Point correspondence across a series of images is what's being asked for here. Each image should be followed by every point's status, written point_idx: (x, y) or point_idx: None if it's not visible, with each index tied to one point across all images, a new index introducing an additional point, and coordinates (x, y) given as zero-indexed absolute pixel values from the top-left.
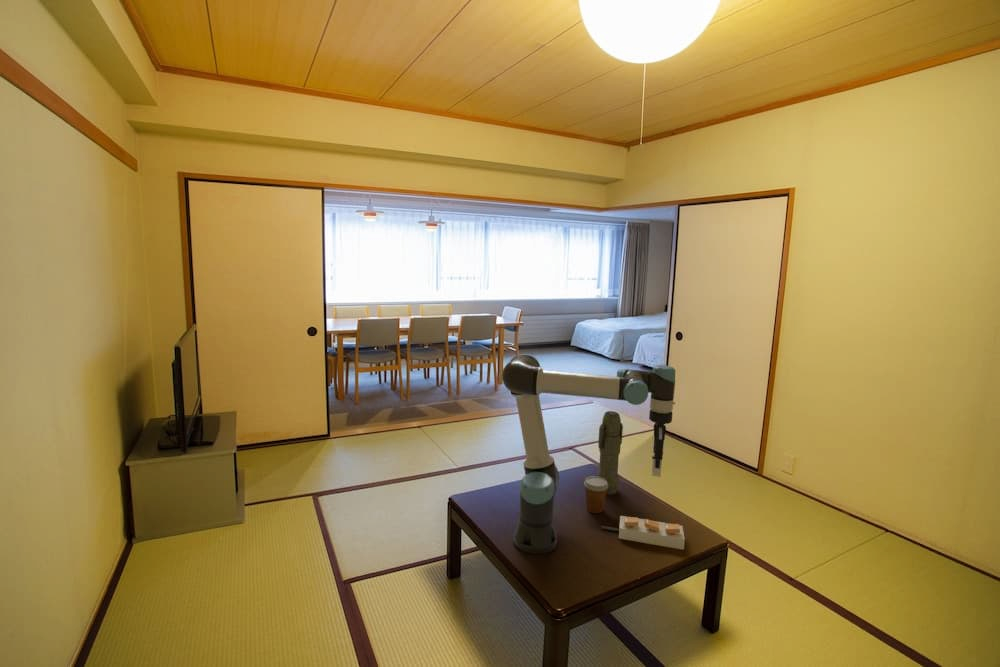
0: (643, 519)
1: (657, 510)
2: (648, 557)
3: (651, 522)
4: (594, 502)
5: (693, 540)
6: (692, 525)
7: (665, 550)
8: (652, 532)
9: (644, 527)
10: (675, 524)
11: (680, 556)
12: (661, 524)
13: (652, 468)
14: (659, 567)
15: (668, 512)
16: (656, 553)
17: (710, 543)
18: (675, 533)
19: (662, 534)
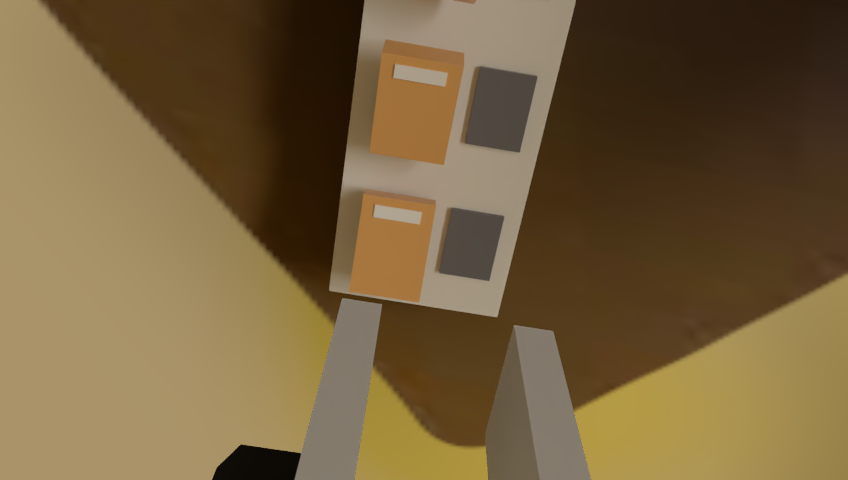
0: (557, 61)
1: (814, 207)
2: (199, 18)
3: (424, 108)
4: None
5: (450, 332)
6: (617, 369)
7: (308, 148)
8: (369, 95)
9: (433, 45)
10: (416, 279)
11: (265, 221)
12: (495, 185)
13: (518, 370)
14: (110, 69)
15: (781, 272)
16: (260, 83)
17: (433, 405)
18: None
19: (358, 162)
